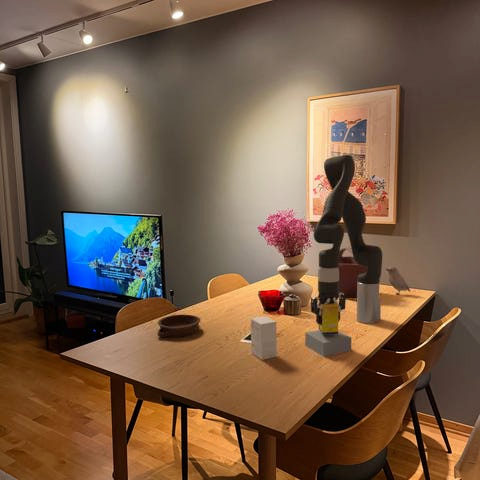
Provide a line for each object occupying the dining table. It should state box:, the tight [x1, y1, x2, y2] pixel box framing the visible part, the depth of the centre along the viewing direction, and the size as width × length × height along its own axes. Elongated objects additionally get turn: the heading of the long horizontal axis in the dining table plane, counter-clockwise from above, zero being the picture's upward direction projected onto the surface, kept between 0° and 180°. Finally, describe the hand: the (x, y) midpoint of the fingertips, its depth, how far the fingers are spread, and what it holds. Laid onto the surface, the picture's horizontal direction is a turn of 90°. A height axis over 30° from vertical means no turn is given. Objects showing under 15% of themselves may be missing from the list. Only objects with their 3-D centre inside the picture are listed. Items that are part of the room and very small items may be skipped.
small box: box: [250, 315, 278, 361], centre depth 163 cm, size 8×6×13 cm
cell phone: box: [239, 332, 251, 344], centre depth 183 cm, size 8×16×1 cm, turn 156°
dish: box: [157, 314, 201, 338], centre depth 190 cm, size 17×22×5 cm
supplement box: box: [318, 303, 339, 335], centre depth 168 cm, size 6×6×11 cm
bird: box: [384, 266, 411, 296], centre depth 240 cm, size 5×14×15 cm, turn 82°
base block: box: [304, 329, 352, 357], centre depth 169 cm, size 12×12×5 cm
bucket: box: [338, 247, 367, 300], centre depth 241 cm, size 24×22×25 cm
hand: (328, 322), depth 168 cm, fingers closed on supplement box, 7 cm apart
